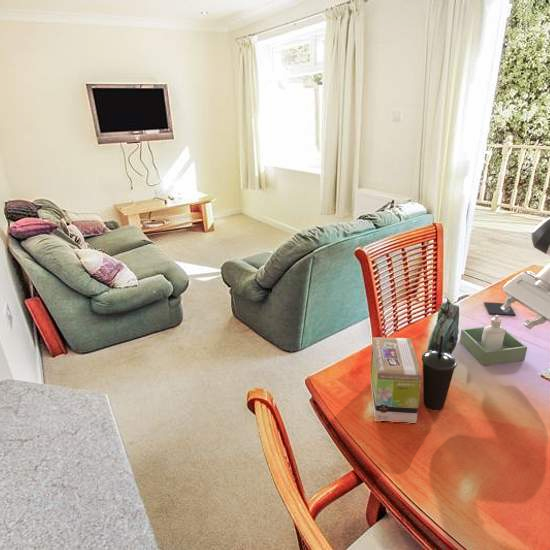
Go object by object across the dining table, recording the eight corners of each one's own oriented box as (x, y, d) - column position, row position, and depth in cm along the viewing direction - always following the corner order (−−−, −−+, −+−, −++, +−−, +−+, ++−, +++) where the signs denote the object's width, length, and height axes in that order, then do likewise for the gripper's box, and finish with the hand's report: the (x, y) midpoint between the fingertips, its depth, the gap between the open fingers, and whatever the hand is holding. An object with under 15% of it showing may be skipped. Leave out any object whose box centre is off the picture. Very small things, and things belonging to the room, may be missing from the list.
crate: (496, 336, 117) (499, 324, 115) (524, 360, 106) (527, 347, 104) (459, 341, 116) (461, 329, 115) (483, 365, 105) (485, 352, 103)
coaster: (509, 304, 134) (509, 303, 134) (515, 316, 127) (515, 314, 127) (484, 303, 136) (484, 302, 136) (489, 314, 129) (489, 313, 129)
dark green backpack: (436, 346, 115) (443, 288, 107) (459, 352, 112) (468, 292, 103) (418, 384, 100) (425, 320, 92) (444, 393, 97) (453, 327, 89)
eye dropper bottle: (501, 356, 108) (508, 321, 103) (479, 352, 111) (485, 317, 106) (501, 348, 112) (508, 313, 107) (479, 344, 114) (485, 310, 109)
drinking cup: (443, 420, 89) (453, 350, 81) (412, 405, 94) (418, 339, 86) (454, 401, 94) (465, 334, 86) (424, 389, 99) (431, 324, 91)
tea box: (418, 425, 88) (423, 374, 82) (374, 422, 90) (375, 373, 84) (407, 382, 102) (411, 336, 96) (369, 380, 103) (371, 335, 97)
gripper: (520, 263, 112) (484, 296, 115) (579, 292, 93) (534, 331, 96) (531, 275, 114) (496, 307, 117) (591, 306, 95) (547, 343, 98)
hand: (514, 318), depth 106 cm, fingers open, 8 cm apart
